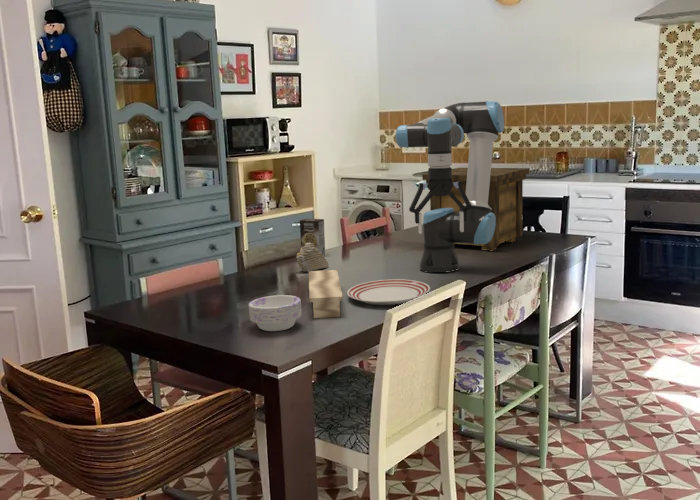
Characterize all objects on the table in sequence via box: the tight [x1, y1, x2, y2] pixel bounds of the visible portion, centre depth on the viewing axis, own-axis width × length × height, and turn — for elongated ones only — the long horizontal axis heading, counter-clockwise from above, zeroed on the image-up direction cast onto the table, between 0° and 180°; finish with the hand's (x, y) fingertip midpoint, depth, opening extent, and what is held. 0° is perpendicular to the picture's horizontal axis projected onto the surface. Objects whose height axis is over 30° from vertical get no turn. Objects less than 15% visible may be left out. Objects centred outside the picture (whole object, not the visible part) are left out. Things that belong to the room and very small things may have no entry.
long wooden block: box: [308, 269, 344, 319], centre depth 227 cm, size 10×37×6 cm, turn 4°
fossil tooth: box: [296, 243, 329, 273], centre depth 274 cm, size 12×6×15 cm
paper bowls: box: [248, 294, 303, 332], centre depth 202 cm, size 15×15×8 cm
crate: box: [421, 167, 531, 250], centre depth 310 cm, size 35×35×33 cm
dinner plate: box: [346, 278, 431, 306], centre depth 229 cm, size 27×27×3 cm
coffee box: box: [299, 218, 326, 257], centre depth 301 cm, size 9×6×16 cm
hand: (441, 232), depth 226 cm, fingers open, 13 cm apart
